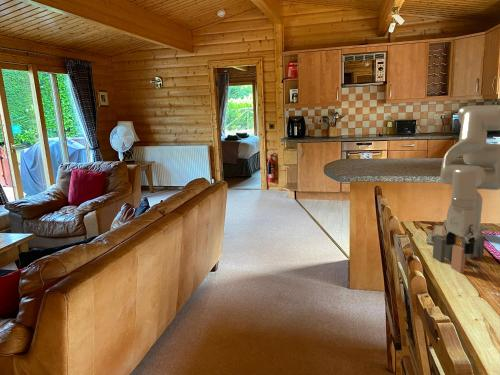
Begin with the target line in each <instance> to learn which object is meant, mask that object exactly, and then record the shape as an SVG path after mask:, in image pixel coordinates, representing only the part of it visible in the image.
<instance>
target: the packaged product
mask: <svg viewBox="0 0 500 375" xmlns="http://www.w3.org/2000/svg"><path fill="white" fill-rule="evenodd" d="M444 235H447V234H446V230H445V225H439V224H438V225H437V224H436V225H434V226H433V229H430V230H429V231H428V236H427V239H426V244H427V245H430V246H433V244H434V236H439V237H441V238H444Z"/></svg>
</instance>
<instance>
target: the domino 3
mask: <svg viewBox="0 0 500 375" xmlns="http://www.w3.org/2000/svg"><path fill="white" fill-rule="evenodd" d="M466 258H467V257H466V254H465V253H464V248H462V246H460V245H458V244H455V245H453V248H452V261H450V262H451V263H450V264H451V265H450V268H451V269H453V270H454V271H456V272H458V273H459V274H464V273H465V269H466V268H465V266H466Z"/></svg>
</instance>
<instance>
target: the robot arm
mask: <svg viewBox="0 0 500 375" xmlns="http://www.w3.org/2000/svg"><path fill="white" fill-rule="evenodd" d="M457 119H458V122H459V124H460V132H459V137H458V142H456V143H455V144H453V145H452V146H451V147H450V148H448V150H447V151H446V153H445V154H444V155H443V158H442V162H441V169H440V175H439V177H440V180H441V182H442V183H443V184H445V185H451V196H450V204H449V206H448V209H447V214H446V219H445V220H443V224H444V225H443V226H445V230H446V234H447V235H446V245H454V244H455V245H456V243H455V239H456V237H457V238H462V237H464V238H465V240H466V242H467V243H465V247H464V253H465V254H473V251H474V243H476V241H477V240H478V238H479V236H480V234H481V235H484V236H485V234H484V233H483V231H489V230H490V226H488V225H484V226H483V225H482V224H481V221H482V210H483V197H482V194H481V193H480V192H479V191H478V190H489V191H497V190H498V191H499V190H500V143H487V138H488V136H487V135H488V132H487V131H492V132H494V131H500V104H493V105H488V104H487V105H486V104H485V105H467V106H463V107H460V108H459V109H458V112H457ZM459 157H462V159H463V162H464V164H452V162H453V161H455V159H457V158H459ZM481 166H484V167H481ZM486 166H487V167H486ZM468 237H470V239H469V238H468Z"/></svg>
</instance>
